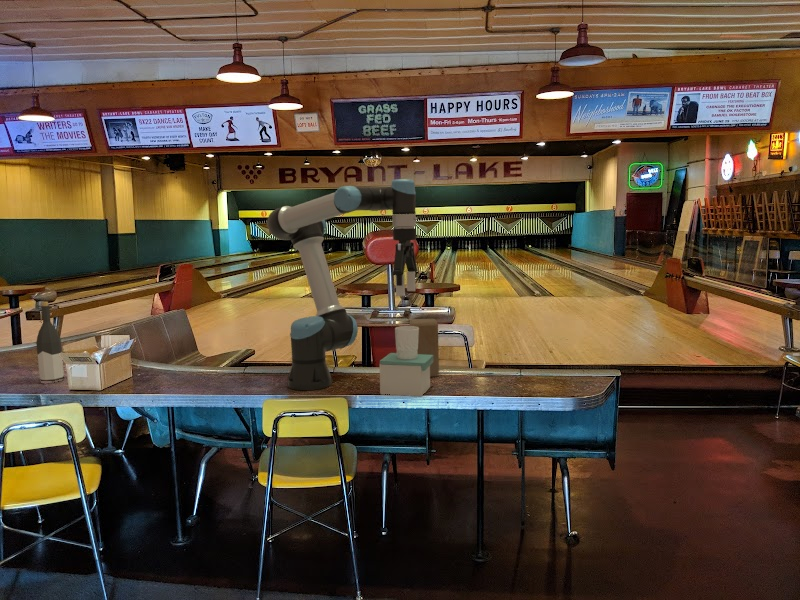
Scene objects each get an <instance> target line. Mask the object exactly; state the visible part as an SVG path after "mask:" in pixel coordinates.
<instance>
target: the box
mask: <svg viewBox="0 0 800 600" xmlns="http://www.w3.org/2000/svg"><path fill="white" fill-rule="evenodd" d="M430 388H431V377H430V366H429V367H428V368H427V369H426V370H425V371H422V366H411V365H393V364H380V363H379V389H380V390H379V393H380V395H385V394H386V395H385V396H387V394H388V396H390V395H391V396H403V395H410V396H409V397H424V395H425V394H424V393H426V392H427V391H428V390H429V389H430ZM389 394H390V395H389ZM423 394H424V395H423Z"/></svg>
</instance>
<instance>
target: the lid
mask: <svg viewBox="0 0 800 600" xmlns="http://www.w3.org/2000/svg"><path fill="white" fill-rule="evenodd" d="M432 363H433V355H425V354H417V358H416V359H411V360H403V359H398V358H397V352H390V353H388V354H387V355H386V356H384V357H383V358H382V359H380V360H379V364H393V365H411V366H422V371H425V370H426V369H427V368H428V367H429V366H430V365H431V364H432Z"/></svg>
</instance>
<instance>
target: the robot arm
mask: <svg viewBox="0 0 800 600" xmlns="http://www.w3.org/2000/svg"><path fill="white" fill-rule="evenodd" d="M416 195H417V192H416V185H415V180H413V179H411V178H404V179H403V178H399V179H393V180H392V181H391V185H390V186H380V187H379V186H376V187H375V186H353V185H346V186H345V185H344V186H340V187H338V189H337V190H335V192H332V193H329V194H326V195H323V196H320V197H317V198H314V199H311V200H309V201H305V202H303V203H300V204H297V205H296V204H295V206H291V205H290V206H289V205H285V206H282V207H278V208H276V209H274V210H272V211H271V212H270V214H269V215H268V216H267V220H266V224H267V229H268V231H269V232H270V234H271V235H272V236H273V237H274V238H276V239H278V240H282V241H291V243H292V246H293V249H295V250H297V251H298V252H299V257H300V259H301V262H302V266H303V269H304V271H305V275H306V279H307V282H308V285H309V289H310V291H311V295H312V299H313V302H314V305H315V309H316V314H315V315H313V316H308V317H307V316H306V317H301V318H298V319H295V320H294V321H293V322H292V323H291V324H290V335H289V336H290V337H289V338H290V344H291V345H290V347H291V367H290V372H289V374H288V379H287V387H288V388H289V389H290V390H291V389H292V390H297V391H313V390H315V391H316V390H321V389H325V388H329V387H330V386H332V375H331V373H330V370H329V367H328V364H327V361H326V357H327V356H326V353H327V352H330V351H335V350H338V349H341V350H342V349H344V348H346V347H350V346H351V345H352V344H354V342H355V341H356V338H357V337H358V336H357V335H358V333H359V332H358V329H359V328H358V323H357V321H356V319H355V317H353V316H352V315H351V314H348V312H347V309H346V308H345V307H344V306H342V305H341V304H340V301H339V297H338V295H337V291H336V288H335V285H334V281H333V278H332V275H331V272H330V268H329V266H328V262H327V258H326V255H325V252H324V248H323V246H322V243H323V241H324V240H325V238H324V235H325V233H326V229H327V224H326V220H329V219H332V218H336V217H339V216H341V215H345V214H349V213H352V212H357V211H370V212H378V211H391V212H392V228H393V230H392V239H393V241H398V243H395V251H394V252H395V253H394V254H395V255H394V263H393V271H392V276H395V295H396V297H399V296H400V297H405V295H406V291H407V292H416V272H418V267H417V260H416V254H415V243H414V242H413V241H416V239H417V229H416V228H415V227H416V226H417V220H418V218H419V217H416V214H417V213H416ZM405 267H406V269H407V271H406V283H405V274H404V273H405ZM405 284H406V286H405Z"/></svg>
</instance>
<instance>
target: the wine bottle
mask: <svg viewBox="0 0 800 600" xmlns="http://www.w3.org/2000/svg"><path fill="white" fill-rule="evenodd" d="M40 309H41V314H42V324H41V326H40V328H39V330H38V333H37V337H36V342H35V343H36V354H37V360H38V361H37V362H38V372H39V374H38V375H39V381H40V380H41V381H55V380H59V379H63V377H64V378H65V371H64V362H63V361H64V360H63V361H62V359H63V358H62V359H61V358H60V357H59V355H58V354H59V353H62V354H63V350H62V342H61V341H62V339H61V337H60V334H59V332H58V331H57V329H56V327H55V325H53V323H52V322H51V314H50V313H51V312H50V305H49V301H41V307H40Z"/></svg>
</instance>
